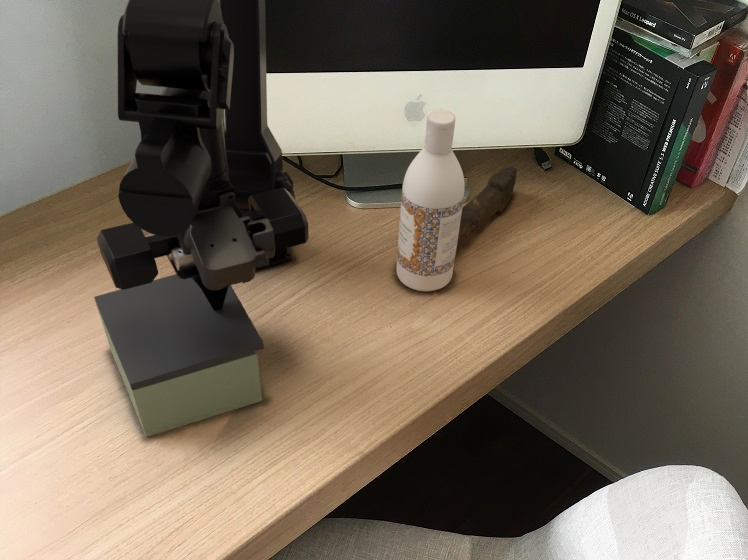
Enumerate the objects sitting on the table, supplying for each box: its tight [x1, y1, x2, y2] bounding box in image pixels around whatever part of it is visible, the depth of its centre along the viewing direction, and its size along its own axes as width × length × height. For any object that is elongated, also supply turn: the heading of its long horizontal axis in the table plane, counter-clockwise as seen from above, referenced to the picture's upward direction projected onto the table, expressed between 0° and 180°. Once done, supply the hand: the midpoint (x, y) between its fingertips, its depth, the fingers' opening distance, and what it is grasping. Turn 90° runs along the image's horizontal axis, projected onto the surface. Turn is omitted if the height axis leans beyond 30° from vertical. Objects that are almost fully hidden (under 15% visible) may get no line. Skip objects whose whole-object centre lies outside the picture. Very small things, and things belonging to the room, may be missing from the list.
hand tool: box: [456, 165, 517, 254], centre depth 101 cm, size 19×4×5 cm, turn 143°
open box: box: [95, 303, 263, 438], centre depth 82 cm, size 13×14×7 cm
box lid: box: [93, 273, 265, 390], centre depth 79 cm, size 13×14×1 cm
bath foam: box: [395, 108, 465, 292], centre depth 89 cm, size 7×7×20 cm
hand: (216, 307), depth 80 cm, fingers closed, pressing on box lid
